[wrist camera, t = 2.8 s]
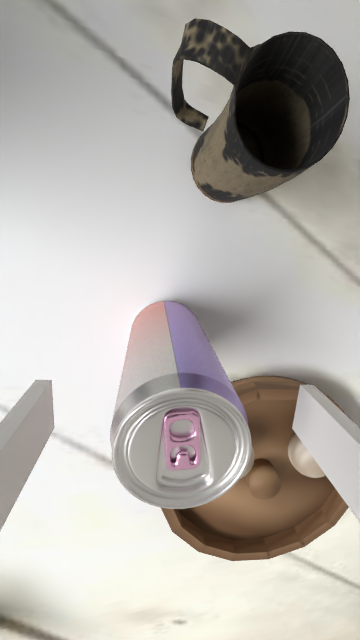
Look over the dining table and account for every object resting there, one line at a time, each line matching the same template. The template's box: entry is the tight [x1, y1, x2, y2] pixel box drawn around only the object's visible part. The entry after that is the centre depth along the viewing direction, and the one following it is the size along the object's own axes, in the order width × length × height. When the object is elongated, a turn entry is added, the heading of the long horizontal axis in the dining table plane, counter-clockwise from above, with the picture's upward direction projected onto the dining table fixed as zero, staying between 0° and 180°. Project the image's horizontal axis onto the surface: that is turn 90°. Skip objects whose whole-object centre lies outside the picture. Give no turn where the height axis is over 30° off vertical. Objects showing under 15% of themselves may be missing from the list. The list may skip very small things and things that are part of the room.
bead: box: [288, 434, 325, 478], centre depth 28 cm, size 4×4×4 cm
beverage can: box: [110, 301, 252, 509], centre depth 19 cm, size 6×6×15 cm
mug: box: [171, 19, 350, 203], centre depth 17 cm, size 8×6×12 cm
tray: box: [161, 376, 348, 561], centre depth 30 cm, size 20×20×3 cm
